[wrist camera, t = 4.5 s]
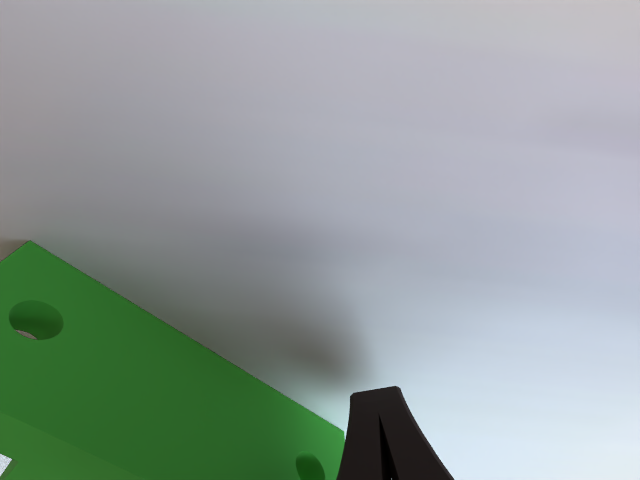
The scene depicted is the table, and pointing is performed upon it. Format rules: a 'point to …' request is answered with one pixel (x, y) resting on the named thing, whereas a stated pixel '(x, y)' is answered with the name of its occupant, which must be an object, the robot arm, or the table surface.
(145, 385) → the pipe clamp
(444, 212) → the table surface
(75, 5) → the table surface
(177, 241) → the table surface
